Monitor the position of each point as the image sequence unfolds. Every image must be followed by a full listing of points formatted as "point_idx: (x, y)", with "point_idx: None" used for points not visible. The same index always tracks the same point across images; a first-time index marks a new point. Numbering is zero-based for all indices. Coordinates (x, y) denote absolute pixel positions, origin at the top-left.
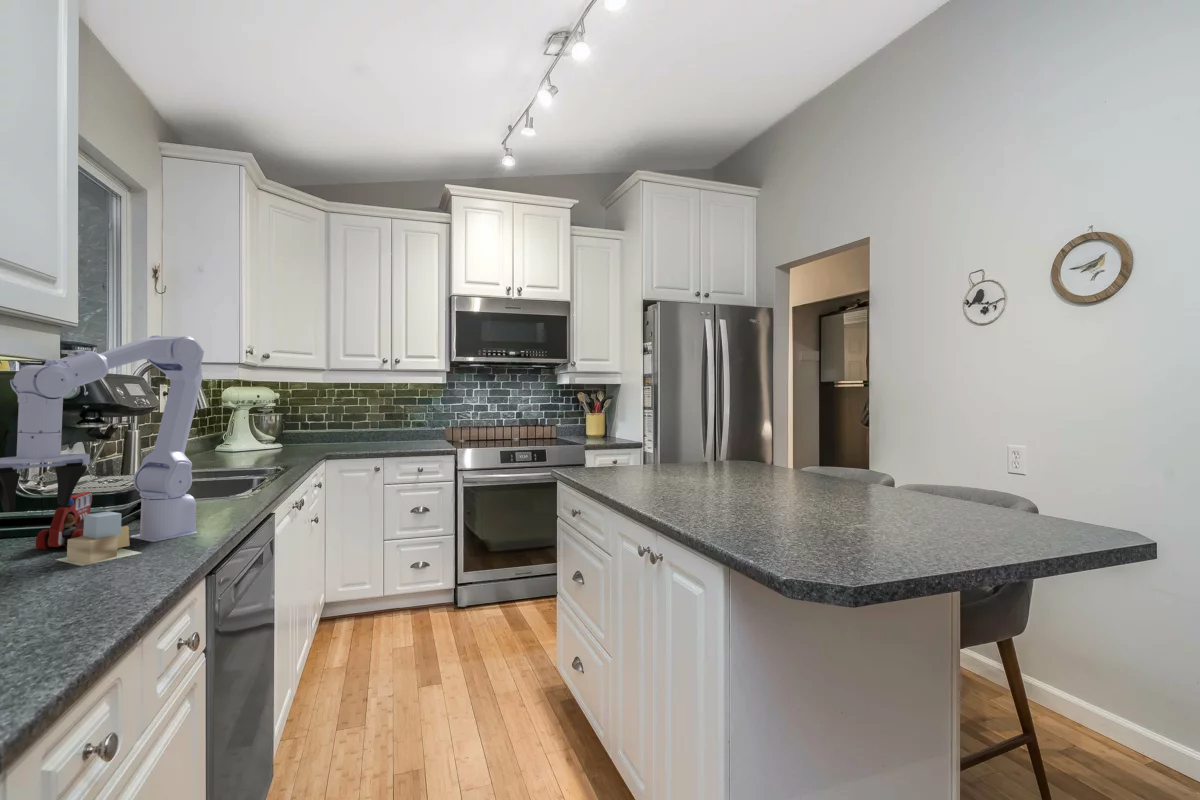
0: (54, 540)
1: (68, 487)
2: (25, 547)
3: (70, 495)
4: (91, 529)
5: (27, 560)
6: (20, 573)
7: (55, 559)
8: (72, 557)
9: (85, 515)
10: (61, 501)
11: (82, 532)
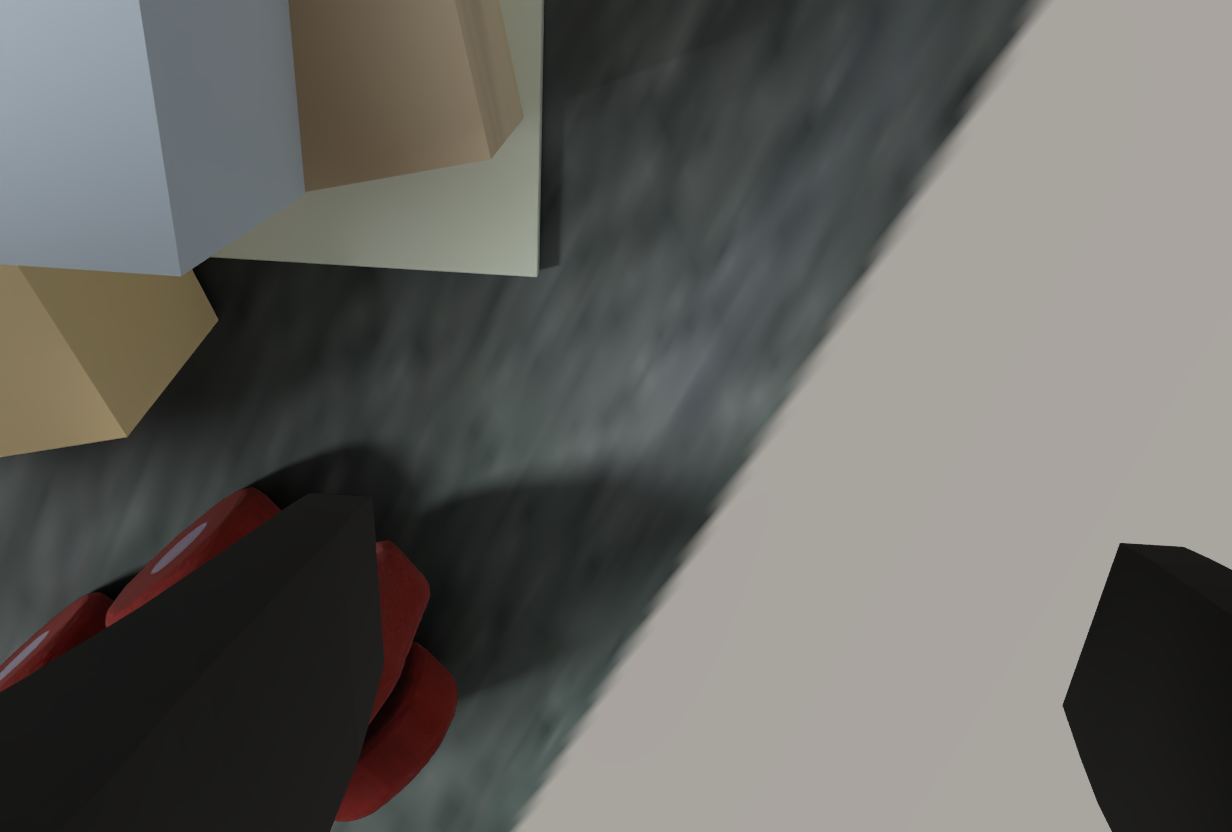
0: (397, 576)
1: (170, 698)
2: (434, 813)
3: (211, 565)
4: (244, 14)
5: (616, 486)
6: (884, 121)
7: (535, 275)
8: (502, 53)
9: (178, 239)
10: (360, 611)
11: (163, 576)
